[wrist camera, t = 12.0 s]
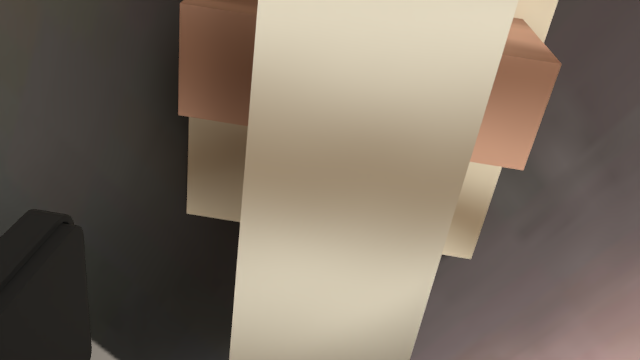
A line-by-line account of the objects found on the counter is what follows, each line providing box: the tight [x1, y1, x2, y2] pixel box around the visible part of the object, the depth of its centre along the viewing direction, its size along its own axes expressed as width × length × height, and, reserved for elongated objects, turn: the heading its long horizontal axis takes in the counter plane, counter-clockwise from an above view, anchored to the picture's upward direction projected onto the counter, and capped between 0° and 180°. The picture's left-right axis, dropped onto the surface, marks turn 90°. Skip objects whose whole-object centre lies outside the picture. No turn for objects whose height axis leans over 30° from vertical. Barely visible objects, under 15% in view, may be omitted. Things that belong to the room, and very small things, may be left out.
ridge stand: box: [178, 0, 561, 259], centre depth 20 cm, size 18×13×6 cm
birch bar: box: [229, 0, 519, 360], centre depth 15 cm, size 22×4×6 cm, turn 172°
